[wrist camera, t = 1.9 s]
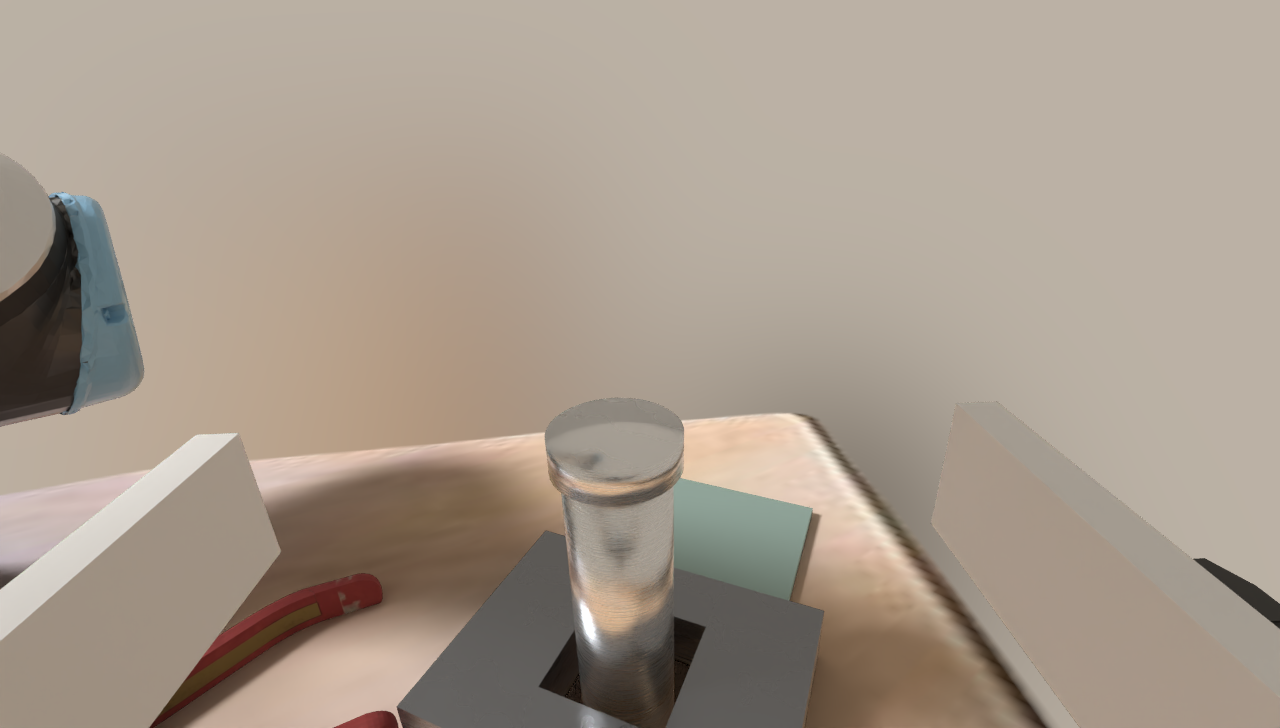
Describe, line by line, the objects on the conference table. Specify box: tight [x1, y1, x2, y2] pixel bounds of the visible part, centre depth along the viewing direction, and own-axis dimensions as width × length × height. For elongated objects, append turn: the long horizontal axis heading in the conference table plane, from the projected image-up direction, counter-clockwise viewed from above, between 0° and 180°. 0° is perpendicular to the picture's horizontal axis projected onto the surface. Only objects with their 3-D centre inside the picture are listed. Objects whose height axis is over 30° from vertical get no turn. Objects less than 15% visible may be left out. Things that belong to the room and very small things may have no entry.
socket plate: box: [397, 531, 824, 728], centre depth 28 cm, size 16×12×3 cm
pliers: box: [149, 573, 398, 728], centre depth 27 cm, size 12×20×3 cm, turn 116°
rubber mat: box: [673, 478, 813, 601], centre depth 38 cm, size 12×10×1 cm
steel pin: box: [545, 398, 684, 728], centre depth 25 cm, size 5×5×15 cm
